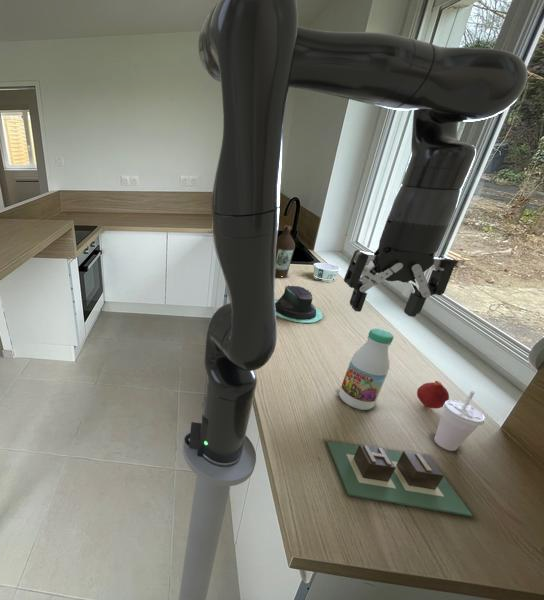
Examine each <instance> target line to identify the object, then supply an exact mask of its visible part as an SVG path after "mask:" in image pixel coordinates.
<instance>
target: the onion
mask: <svg viewBox="0 0 544 600" xmlns="http://www.w3.org/2000/svg"><path fill="white" fill-rule="evenodd" d="M448 391H449V390H447V388H446V387H445V386H444V385H443V384H442V382H441V381H440V380H435V381H434V382H433V381H432V382H425V383H423V384H421V385H420V386H419V387H418V388H417V390H416V396H417V398H418V400H419V401H420V403H421V404H422V405H423V406H424V407H425V408H426V409H441V408H443V405H444V404H445V402H446V401H447V400H450V394H449V392H448Z"/></svg>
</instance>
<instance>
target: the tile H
mask: <svg viewBox="0 0 544 600" xmlns="http://www.w3.org/2000/svg"><path fill="white" fill-rule="evenodd" d="M358 446H359V447H358V449H357V451H356V453H355V456H354V460H355V462H356V464H357V466H358V469H359V471H360V473H361V475H362V477H363V478H367V479H373V480H379V481H385V482H389V480H390V478H391V476H392V474H393V472H394V470H395V468H396V467H395V466H394V464H393V462H392V461H391V459H390V457H389V456H388V454H387V452H386V451H385V450H386V449H385V448H384V447H379V446H372V445H366V444H358Z"/></svg>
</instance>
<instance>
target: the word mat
mask: <svg viewBox="0 0 544 600" xmlns="http://www.w3.org/2000/svg"><path fill="white" fill-rule="evenodd" d="M326 445H327V448H328V449H329V452H330V454H331V455H330V456H331V457H332V459H333V462H334V464H335V467H336V469H337V471H338V474H339V477H340V478H341V481H342V484H343V486H344V489H345V491H346V493H347V496H349V497H355V498H360V499H367V500H372V501H378V502H382V503H383V502H384V503H389V504H394V505H401V506H406V507H413V508H419V509H423V510H430V511H435V512H441V513H447V514H451V515H452V514H453V515H459V516H463V517H470V518H472V517H473V514H472V512H471V511H470V509H469V508H468V507H467V506H466V505H465V503H464V502H463V500H462V499H461V497H460V496H459V495H458V493H457V492H456V491H455V489H454V488H453V487H452V485H451V484H450V482H449V481H448V479H446V477H445V476H444V477H443V478H442V480H441V481H440V483H439V485H438V486H437V488H436V489H435V490H433V489H427V488H421V487H415V486H409V485H408V483H407V482H406V480H405V478H404V477H403V475H402V473H401V472H400V470H399V469H398V467H397V463H398V461H399V459H400V457H401V455H402V453H403V452H399V451H393V450H387V449H385V451H386V452H387V454H388V456H389V457H390V459H391V461H392V462H393V464H394V466H395V467H396V468H395V470H394V472H393V474H392V476H391V478H390V480H389V482H385V481H379V480H373V479H367V478H363V477H362V475H361V473H360V471H359V469H358V466H357V464H356V462H355V460H354V456H355V453H356V451H357V449H358V447H359V445H355V444H348V443H342V442H341V443H340V442H336V441H335V442H334V441H326Z"/></svg>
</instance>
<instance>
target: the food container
mask: <svg viewBox="0 0 544 600" xmlns="http://www.w3.org/2000/svg"><path fill="white" fill-rule="evenodd" d="M340 270H341V268H340V267H339V266H338V265H335V264H332V263H328V262H315V263H313V279H315V280H317V281H320V282H323V283H324V282H325V283H331V282H334V280H335V279H334V278H336V277H337V274H338V273H339V271H340ZM314 275H315V276H317V277H319V278H323V279H334V280H323V279H319V278H316V277H315V276H314Z"/></svg>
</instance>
